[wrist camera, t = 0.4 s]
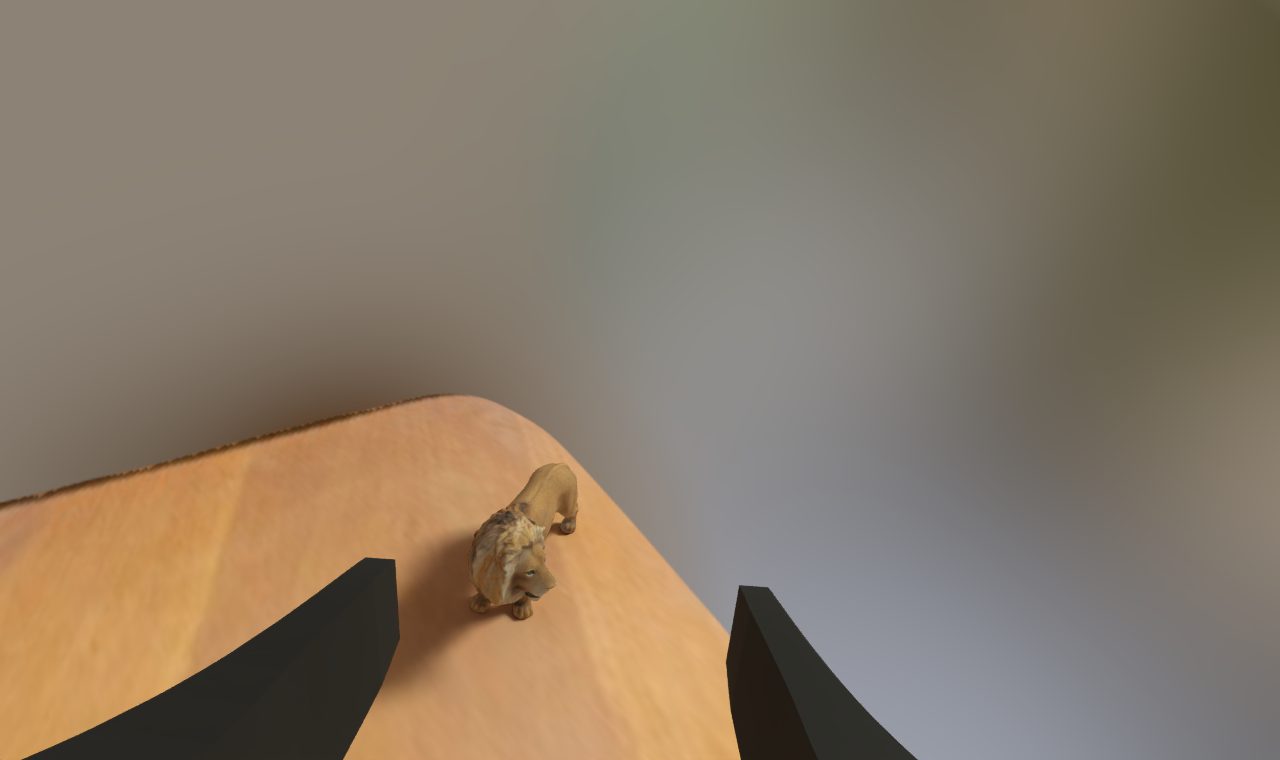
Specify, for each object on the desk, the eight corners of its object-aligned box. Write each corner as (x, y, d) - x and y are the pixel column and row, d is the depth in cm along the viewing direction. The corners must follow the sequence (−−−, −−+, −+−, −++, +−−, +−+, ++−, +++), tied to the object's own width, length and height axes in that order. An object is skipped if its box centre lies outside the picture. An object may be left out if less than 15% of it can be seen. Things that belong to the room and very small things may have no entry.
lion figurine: (534, 681, 33) (559, 567, 29) (441, 659, 33) (452, 541, 29) (582, 509, 46) (604, 413, 42) (515, 493, 46) (530, 395, 42)
